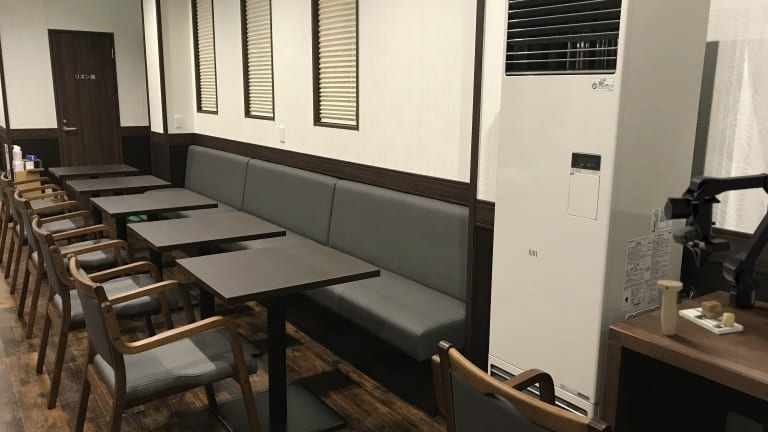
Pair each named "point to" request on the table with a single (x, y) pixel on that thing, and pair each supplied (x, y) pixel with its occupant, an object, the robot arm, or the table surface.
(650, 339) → the table surface
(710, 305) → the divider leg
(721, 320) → the bolt plate
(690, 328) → the table surface
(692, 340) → the table surface
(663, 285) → the handle
